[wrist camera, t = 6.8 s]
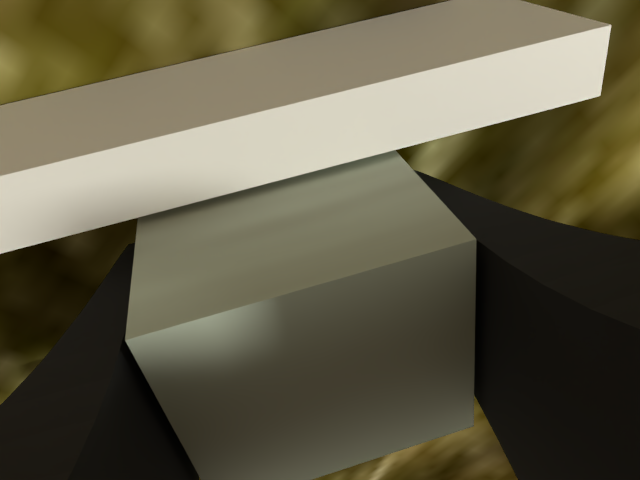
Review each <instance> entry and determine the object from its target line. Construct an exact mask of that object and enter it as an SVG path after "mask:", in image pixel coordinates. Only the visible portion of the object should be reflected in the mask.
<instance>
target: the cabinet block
mask: <svg viewBox="0 0 640 480" xmlns="http://www.w3.org/2000/svg"><path fill="white" fill-rule="evenodd" d="M475 300H476V238H475V237H474V236H473V235H472V234H471V233H470V232H469V230H468V229H467V228H466V227H465V226H464V225H463V224H462V223H461V222H460V221H459V220H458V218H457V217H456V216H455V215H454V214H453V213H452V212H451V211H450V210H449V209H448V208H447V206H446V205H445V204H444V203H443V202H442V201H441V200H440V199H439V198H438V197H437V196H436V194H435V193H434V192H433V191H432V190H431V189H430V188H429V187H428V186H427V185H426V184H425V182H424V181H423V180H422V179H421V178H420V177H419V176H418V175H417V174H416V173H415V172H414V170H413V169H412V168H411V167H410V166H409V165H408V164H407V163H406V162H405V161H404V160H403V158H402V157H401V156H400V155H399V154H398V153H397V152H396V151H395V150H393V151H389V152H385V153H382V154H378V155H374V156H370V157H366V158H363V159H359V160H355V161H351V162H347V163H344V164H340V165H336V166H332V167H328V168H325V169H321V170H317V171H313V172H309V173H306V174H302V175H298V176H294V177H290V178H286V179H283V180H279V181H275V182H271V183H267V184H264V185H260V186H256V187H252V188H248V189H245V190H241V191H237V192H233V193H229V194H226V195H222V196H218V197H214V198H210V199H207V200H203V201H199V202H195V203H191V204H188V205H184V206H180V207H176V208H172V209H169V210H165V211H161V212H157V213H153V214H150V215H146V216H142V217H138V222H137V231H136V241H135V250H134V260H133V269H132V279H131V288H130V298H129V307H128V317H127V326H126V336H125V341H126V343H127V345H128V347H129V349H130V350H131V352H132V354H133V356H134V358H135V360H136V361H137V363H138V365H139V367H140V369H141V370H142V372H143V374H144V376H145V378H146V380H147V381H148V383H149V385H150V387H151V389H152V391H153V392H154V394H155V396H156V398H157V400H158V402H159V403H160V405H161V407H162V409H163V411H164V413H165V414H166V416H167V418H168V420H169V422H170V424H171V425H172V427H173V429H174V431H175V433H176V435H177V436H178V438H179V440H180V442H181V444H182V445H183V447H184V449H185V451H186V453H187V455H188V456H189V458H190V460H191V462H192V464H193V466H194V467H195V469H196V471H197V473H198V475H199V477H200V478H201V480H311V479H314V478H317V477H320V476H324V475H327V474H330V473H333V472H336V471H339V470H342V469H345V468H348V467H351V466H354V465H357V464H360V463H363V462H366V461H369V460H372V459H375V458H378V457H381V456H384V455H387V454H390V453H393V452H397V451H400V450H403V449H406V448H409V447H412V446H415V445H418V444H421V443H424V442H427V441H430V440H433V439H436V438H439V437H442V436H445V435H448V434H451V433H454V432H457V431H460V430H463V429H466V428H470V427H473V426H474V365H475Z"/></svg>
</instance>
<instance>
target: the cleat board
mask: <svg viewBox="0 0 640 480" xmlns="http://www.w3.org/2000/svg"><path fill="white" fill-rule="evenodd" d="M610 30H611V25H610V24H606V23H602V22H599V21H595V20H591V19H587V18H584V17H580V16H576V15H573V14H569V13H565V12H561V11H558V10H554V9H550V8H547V7H543V6H539V5H535V4H532V3H528V2H524V1H521V0H450V1H446V2H441V3H437V4H433V5H429V6H424V7H420V8H416V9H411V10H407V11H403V12H399V13H394V14H390V15H386V16H381V17H377V18H373V19H369V20H364V21H360V22H356V23H351V24H347V25H343V26H339V27H334V28H330V29H326V30H321V31H317V32H313V33H309V34H304V35H300V36H296V37H291V38H287V39H283V40H278V41H274V42H270V43H266V44H261V45H257V46H253V47H248V48H244V49H240V50H236V51H231V52H227V53H223V54H218V55H214V56H210V57H206V58H201V59H197V60H193V61H188V62H184V63H180V64H176V65H171V66H167V67H163V68H158V69H154V70H150V71H146V72H141V73H137V74H133V75H128V76H124V77H120V78H116V79H111V80H107V81H103V82H98V83H94V84H90V85H86V86H81V87H77V88H73V89H68V90H64V91H60V92H56V93H51V94H47V95H43V96H38V97H34V98H30V99H25V100H21V101H17V102H13V103H8V104H4V105H0V254H1V253H5V252H9V251H13V250H16V249H20V248H24V247H28V246H32V245H36V244H39V243H43V242H47V241H51V240H55V239H58V238H62V237H66V236H70V235H74V234H77V233H81V232H85V231H89V230H93V229H96V228H100V227H104V226H108V225H112V224H115V223H119V222H123V221H127V220H131V219H134V218H138V217H142V216H146V215H150V214H153V213H157V212H161V211H165V210H169V209H172V208H176V207H180V206H184V205H188V204H191V203H195V202H199V201H203V200H207V199H210V198H214V197H218V196H222V195H226V194H229V193H233V192H237V191H241V190H245V189H248V188H252V187H256V186H260V185H264V184H267V183H271V182H275V181H279V180H283V179H286V178H290V177H294V176H298V175H302V174H306V173H309V172H313V171H317V170H321V169H325V168H328V167H332V166H336V165H340V164H344V163H347V162H351V161H355V160H359V159H363V158H366V157H370V156H374V155H378V154H382V153H385V152H389V151H393V150H397V149H401V148H404V147H408V146H412V145H416V144H420V143H423V142H427V141H431V140H435V139H439V138H442V137H446V136H450V135H454V134H458V133H461V132H465V131H469V130H473V129H477V128H480V127H484V126H488V125H492V124H496V123H499V122H503V121H507V120H511V119H515V118H518V117H522V116H526V115H530V114H534V113H537V112H541V111H545V110H549V109H553V108H557V107H560V106H564V105H568V104H572V103H576V102H579V101H583V100H587V99H591V98H595V97H598V96H600V94H601V88H602V82H603V75H604V69H605V62H606V56H607V50H608V43H609V37H610Z"/></svg>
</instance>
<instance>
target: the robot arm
mask: <svg viewBox="0 0 640 480" xmlns="http://www.w3.org/2000/svg"><path fill="white" fill-rule="evenodd" d="M414 172H415V173H416V174H417V175H418V176H419V177H420V178H421V179H422V180H423V181H424V182H425V184H426V185H427V186H428V187H429V188H430V189H431V190H432V191H433V192H434V193H435V194H436V196H437V197H438V198H439V199H440V200H441V201H442V202H443V203H444V204H445V205H446V206H447V208H448V209H449V210H450V211H451V212H452V213H453V214H454V215H455V216H456V217H457V218H458V220H459V221H460V222H461V223H462V224H463V225H464V226H465V227H466V228H467V229H468V230H469V232H470V233H471V234H472V235H473V236H474V237H475V238H476V300H475V365H474V395H475V397H476V398H477V400H478V402H479V404H480V406H481V408H482V410H483V412H484V414H485V416H486V417H487V419H488V421H489V423H490V425H491V427H492V429H493V431H494V433H495V435H496V436H497V438H498V440H499V442H500V444H501V446H502V448H503V450H504V452H505V454H506V456H507V458H508V460H509V462H510V464H511V466H512V468H513V470H514V472H515V474H516V476H517V478H518V480H640V240H635V239H629V238H623V237H618V236H613V235H608V234H603V233H599V232H594V231H590V230H586V229H582V228H578V227H574V226H570V225H566V224H562V223H558V222H554V221H551V220H547V219H544V218H541V217H537V216H534V215H531V214H528V213H525V212H522V211H519V210H516V209H513V208H510V207H507V206H504V205H502V204H499V203H496V202H493V201H491V200H488V199H486V198H483V197H480V196H478V195H475V194H473V193H470V192H468V191H465V190H463V189H460V188H458V187H456V186H453V185H451V184H448V183H446V182H444V181H441V180H439V179H436V178H434V177H431V176H429V175H426V174H424V173H421V172H418V171H415V170H414ZM134 250H135V243H132V244H129V245H128V246H127V247H126V248H125V250H124V251H123V253H122V254H121V255H120V257H119V258H118V260H117V261H116V263H115V264H114V266H113V267H112V269H111V270H110V272H109V273H108V274H107V276H106V277H105V279H104V280H103V282H102V283H101V285H100V286H99V287H98V289H97V290H96V292H95V293H94V295H93V296H92V297H91V299H90V300H89V302H88V303H87V304H86V306H85V307H84V309H83V310H82V311H81V313H80V314H79V315H78V317H77V318H76V319H75V320H74V322H73V323H72V324H71V325H70V327H69V328H68V329H67V330H66V332H65V333H64V334H63V336H62V337H61V338H60V339H59V341H58V342H57V343H56V344H55V346H54V347H53V348H52V350H51V351H50V352H49V353H48V354H47V356H46V357H45V358H44V359H43V360H42V361H41V363H40V364H39V365H38V366H37V367H36V368H35V369H34V370H33V371H32V373H31V374H30V375H29V376H28V377H27V378H26V379H25V380H24V381H23V382H22V383H21V384H20V385H19V386H18V387H17V389H16V390H15V391H14V392H13V393H12V394H11V395H10V396H9V397H8V398H7V399H6V400H5V401H4V402H3V403H2V404H1V405H0V480H199V475H198V473H197V471H196V469H195V467H194V466H193V464H192V462H191V460H190V458H189V456H188V455H187V453H186V451H185V449H184V447H183V445H182V444H181V442H180V440H179V438H178V436H177V435H176V433H175V431H174V429H173V427H172V425H171V424H170V422H169V420H168V418H167V416H166V414H165V413H164V411H163V409H162V407H161V405H160V403H159V402H158V400H157V398H156V396H155V394H154V392H153V391H152V389H151V387H150V385H149V383H148V381H147V380H146V378H145V376H144V374H143V372H142V370H141V369H140V367H139V365H138V363H137V361H136V360H135V358H134V356H133V354H132V352H131V350H130V349H129V347H128V345H127V343H126V341H125V336H126V326H127V317H128V307H129V298H130V288H131V279H132V269H133V260H134Z"/></svg>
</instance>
